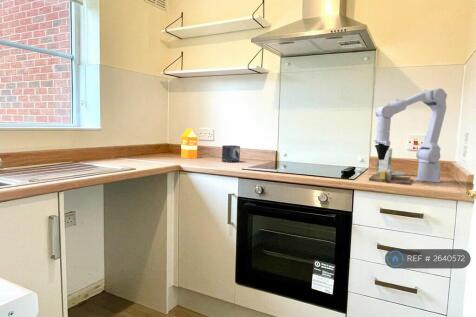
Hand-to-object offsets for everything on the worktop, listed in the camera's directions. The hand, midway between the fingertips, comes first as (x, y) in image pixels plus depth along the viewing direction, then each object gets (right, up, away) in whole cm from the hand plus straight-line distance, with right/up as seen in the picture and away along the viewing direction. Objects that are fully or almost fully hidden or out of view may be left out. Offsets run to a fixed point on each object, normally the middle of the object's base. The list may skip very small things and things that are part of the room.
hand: (381, 159), depth 155 cm
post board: (+5, -10, +1) cm, 11 cm away
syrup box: (+11, -8, +23) cm, 27 cm away
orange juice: (-103, +1, +71) cm, 125 cm away
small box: (-73, -2, +55) cm, 92 cm away
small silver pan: (+4, -9, 0) cm, 9 cm away
